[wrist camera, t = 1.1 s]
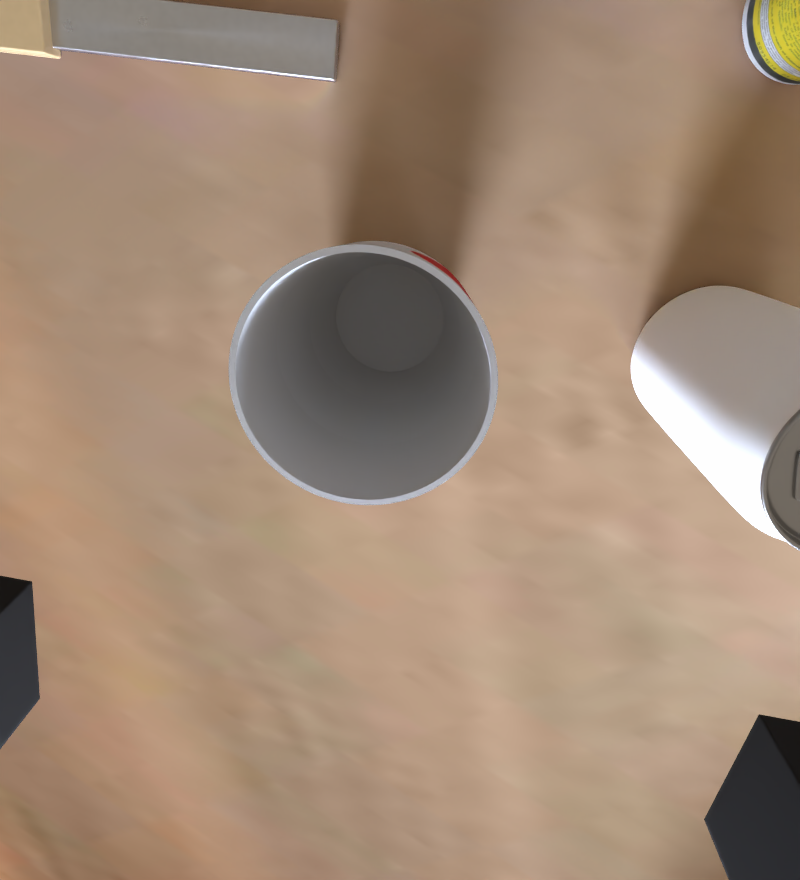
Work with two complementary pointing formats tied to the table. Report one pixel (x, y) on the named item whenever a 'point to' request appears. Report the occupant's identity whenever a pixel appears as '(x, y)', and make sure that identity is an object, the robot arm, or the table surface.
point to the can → (730, 396)
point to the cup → (364, 373)
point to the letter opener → (174, 35)
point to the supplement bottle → (773, 38)
